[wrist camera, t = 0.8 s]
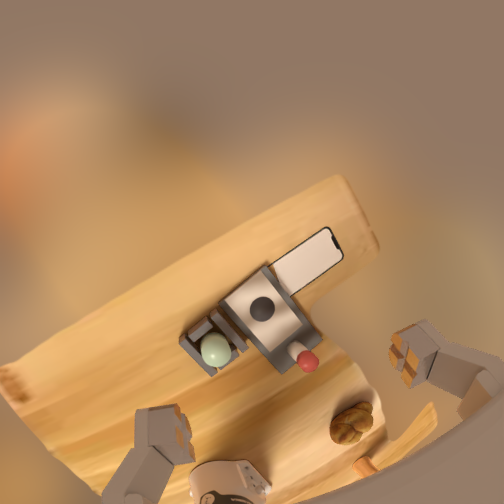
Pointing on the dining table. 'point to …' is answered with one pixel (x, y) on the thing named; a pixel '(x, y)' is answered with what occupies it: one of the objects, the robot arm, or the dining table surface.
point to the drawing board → (269, 318)
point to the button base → (201, 330)
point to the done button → (215, 349)
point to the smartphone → (308, 261)
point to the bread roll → (352, 424)
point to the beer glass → (364, 467)
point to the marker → (303, 356)
